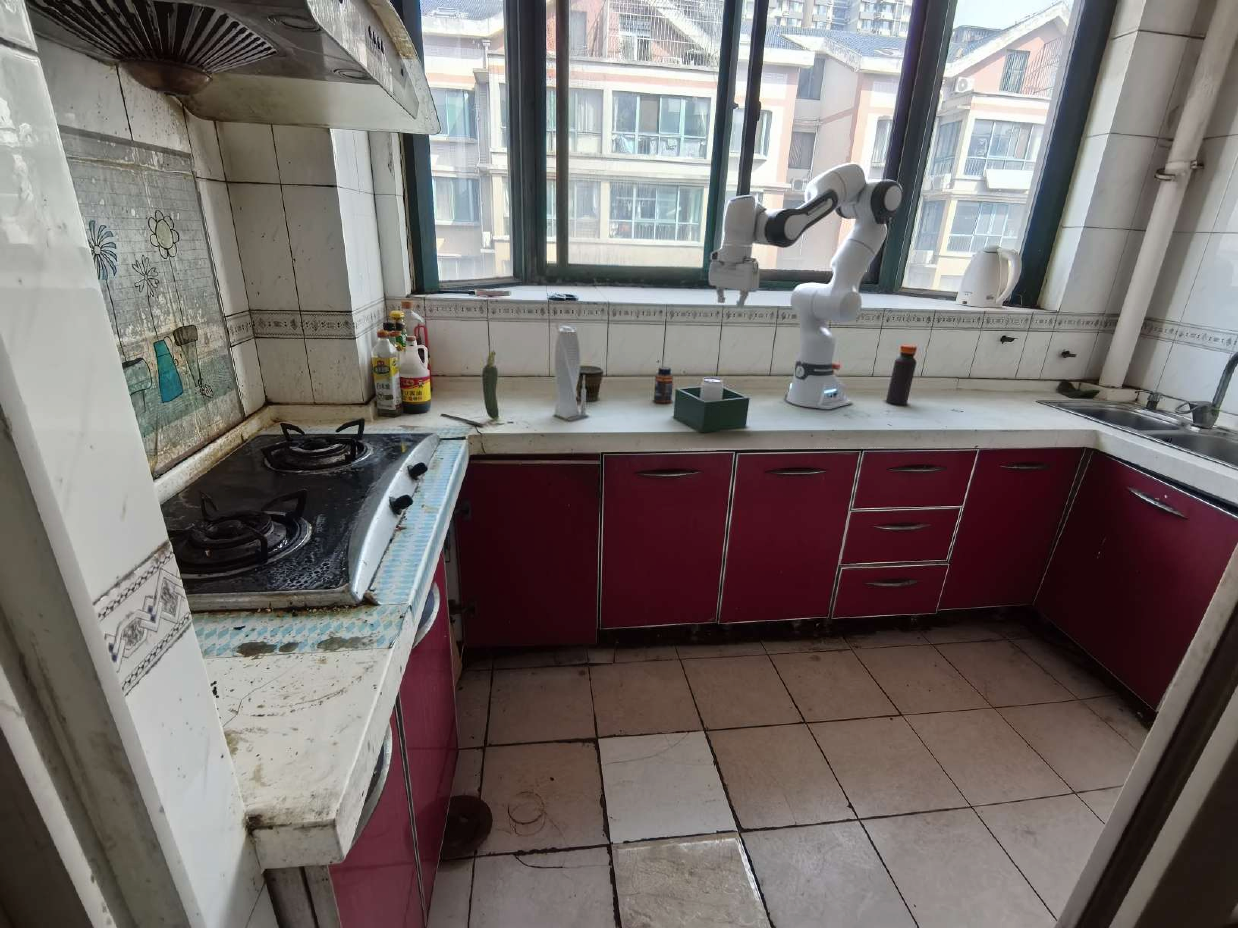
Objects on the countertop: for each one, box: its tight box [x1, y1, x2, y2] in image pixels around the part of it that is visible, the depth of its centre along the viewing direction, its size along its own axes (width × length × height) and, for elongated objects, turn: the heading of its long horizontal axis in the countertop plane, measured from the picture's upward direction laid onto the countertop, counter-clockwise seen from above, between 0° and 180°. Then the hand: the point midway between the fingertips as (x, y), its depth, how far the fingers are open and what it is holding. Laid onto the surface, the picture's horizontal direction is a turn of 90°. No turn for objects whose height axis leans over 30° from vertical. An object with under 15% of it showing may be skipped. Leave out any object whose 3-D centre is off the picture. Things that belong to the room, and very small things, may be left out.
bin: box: [673, 385, 751, 434], centre depth 176 cm, size 16×16×9 cm
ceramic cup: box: [575, 365, 604, 402], centre depth 193 cm, size 13×10×10 cm
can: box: [700, 376, 724, 401], centre depth 176 cm, size 6×6×12 cm
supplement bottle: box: [653, 366, 674, 404], centre depth 195 cm, size 6×6×11 cm
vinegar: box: [885, 344, 918, 406], centre depth 204 cm, size 7×7×20 cm
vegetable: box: [481, 350, 500, 421], centre depth 167 cm, size 4×4×20 cm
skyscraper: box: [553, 321, 588, 422], centre depth 172 cm, size 8×8×28 cm
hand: (730, 304), depth 177 cm, fingers open, 8 cm apart
